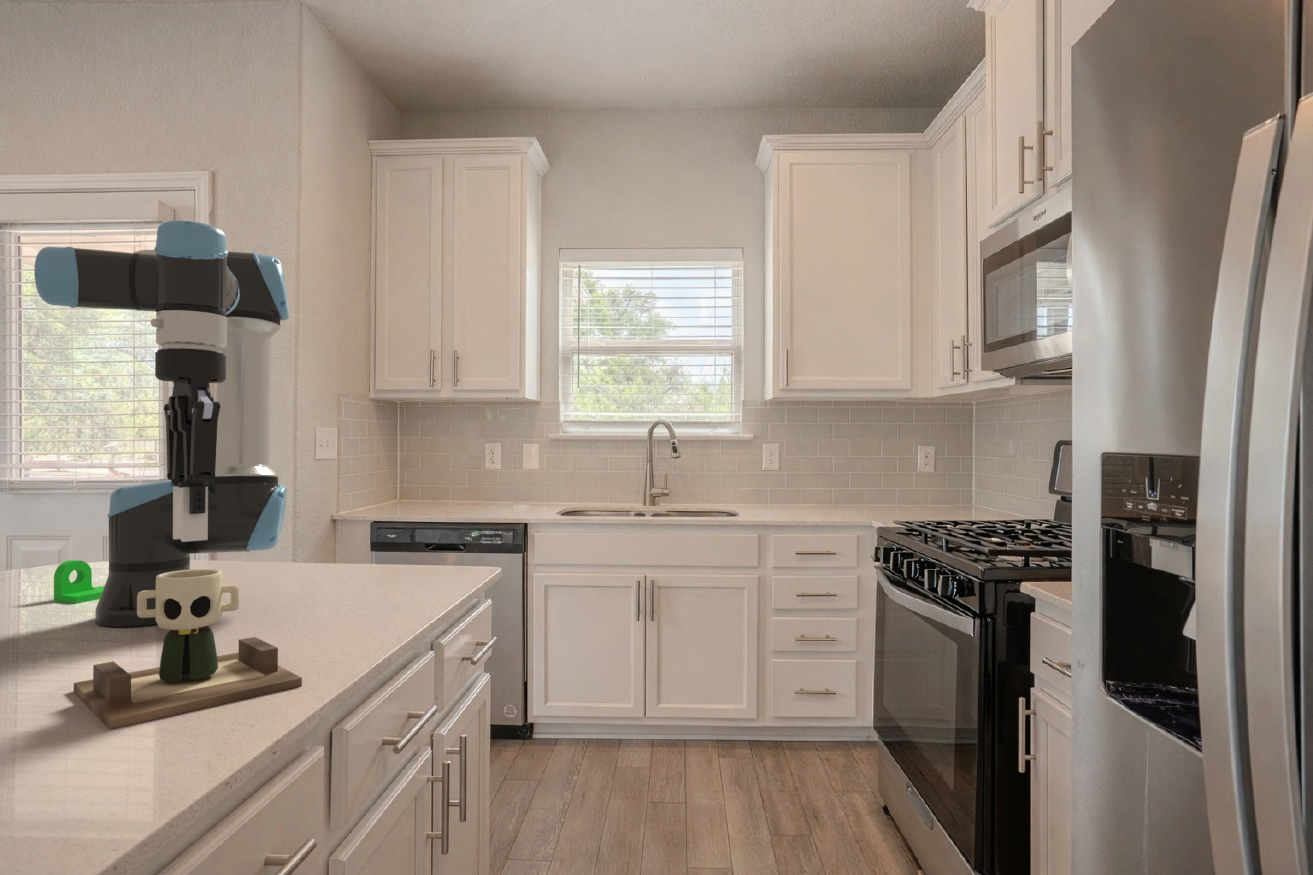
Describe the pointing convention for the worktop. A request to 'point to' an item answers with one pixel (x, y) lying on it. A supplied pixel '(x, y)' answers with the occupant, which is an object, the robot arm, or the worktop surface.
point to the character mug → (188, 619)
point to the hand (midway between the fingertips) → (190, 538)
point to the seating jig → (183, 686)
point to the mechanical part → (75, 583)
